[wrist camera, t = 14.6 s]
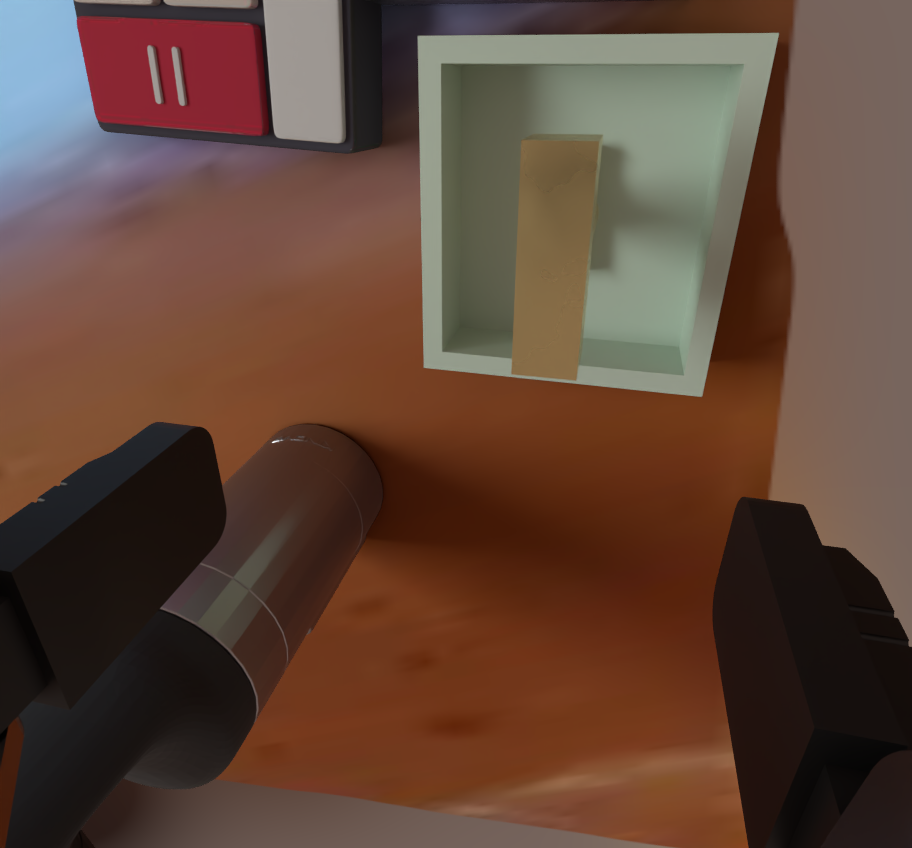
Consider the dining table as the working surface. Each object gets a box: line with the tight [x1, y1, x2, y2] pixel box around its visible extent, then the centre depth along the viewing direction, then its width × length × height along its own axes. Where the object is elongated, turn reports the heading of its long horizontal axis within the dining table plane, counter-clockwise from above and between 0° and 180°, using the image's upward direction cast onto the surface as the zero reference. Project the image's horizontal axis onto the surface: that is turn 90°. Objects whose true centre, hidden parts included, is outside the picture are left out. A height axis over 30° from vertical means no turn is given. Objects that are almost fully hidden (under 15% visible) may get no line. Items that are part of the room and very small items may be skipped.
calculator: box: [74, 0, 382, 153], centre depth 31 cm, size 11×4×15 cm
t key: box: [511, 134, 603, 381], centre depth 27 cm, size 8×2×12 cm, turn 0°
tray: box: [418, 33, 779, 397], centre depth 30 cm, size 15×14×4 cm
